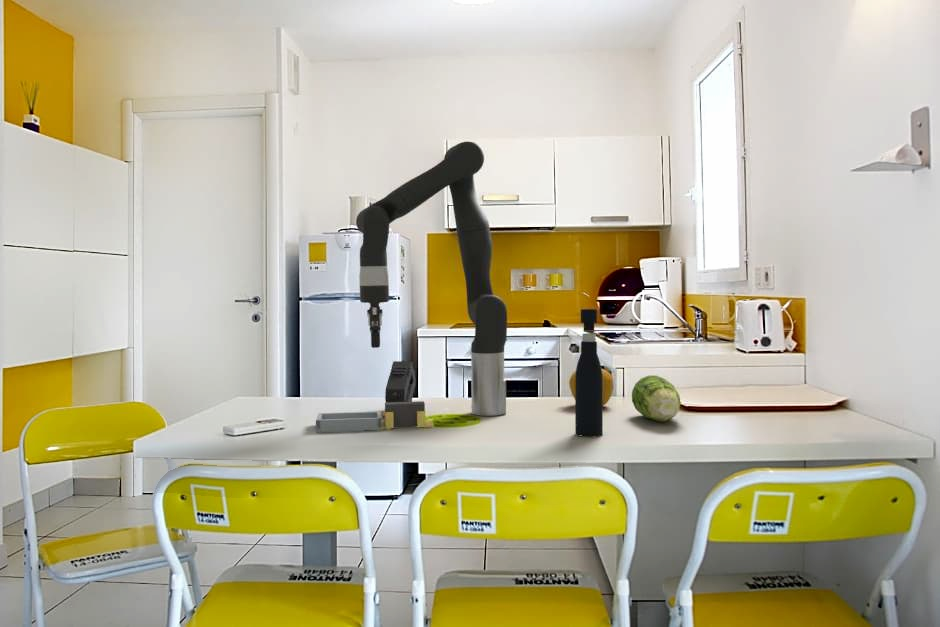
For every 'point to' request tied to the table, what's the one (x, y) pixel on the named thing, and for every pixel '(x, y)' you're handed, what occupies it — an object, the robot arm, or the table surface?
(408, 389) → the tool
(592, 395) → the wine bottle
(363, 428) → the tray
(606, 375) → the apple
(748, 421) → the table surface
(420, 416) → the blocks
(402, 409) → the grey slab
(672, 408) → the lettuce
